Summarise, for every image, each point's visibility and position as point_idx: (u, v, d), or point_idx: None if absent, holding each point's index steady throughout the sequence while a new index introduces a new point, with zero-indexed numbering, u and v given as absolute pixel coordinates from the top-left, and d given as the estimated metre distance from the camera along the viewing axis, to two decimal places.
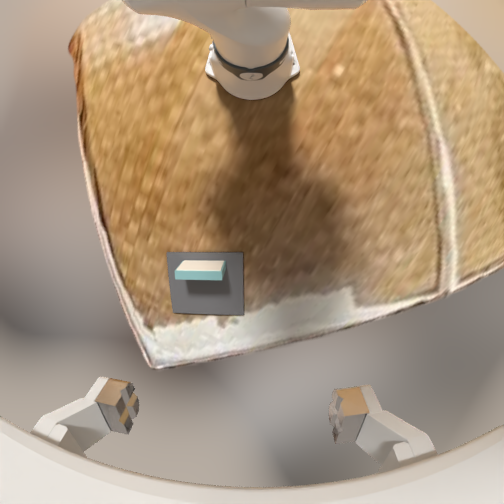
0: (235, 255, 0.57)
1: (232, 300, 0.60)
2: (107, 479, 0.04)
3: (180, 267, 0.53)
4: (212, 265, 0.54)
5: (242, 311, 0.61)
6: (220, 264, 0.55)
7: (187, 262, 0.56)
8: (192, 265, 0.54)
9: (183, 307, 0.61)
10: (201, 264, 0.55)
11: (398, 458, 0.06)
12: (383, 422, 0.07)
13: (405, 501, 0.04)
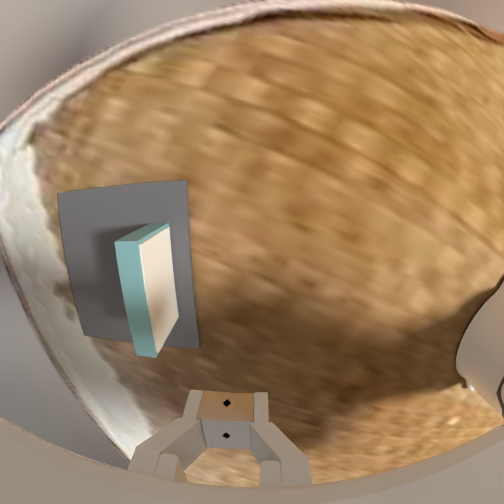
0: (192, 336, 0.26)
1: (103, 320, 0.26)
2: (107, 479, 0.04)
3: (149, 246, 0.19)
4: (165, 316, 0.22)
5: (89, 334, 0.27)
6: (170, 326, 0.23)
7: (164, 244, 0.22)
8: (158, 269, 0.20)
9: (69, 219, 0.23)
10: (164, 287, 0.22)
11: (261, 477, 0.06)
12: (262, 434, 0.07)
13: (405, 501, 0.04)
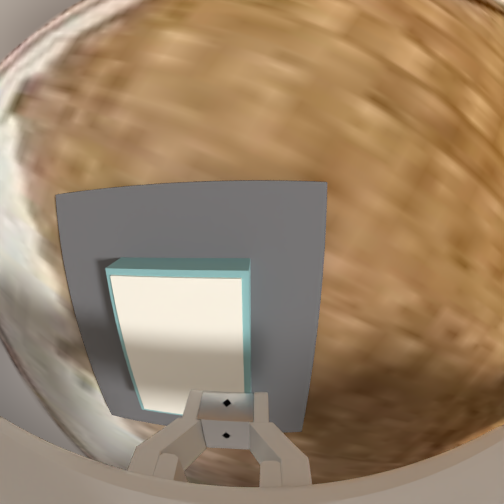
0: (296, 419, 0.16)
1: None
2: (107, 479, 0.04)
3: (136, 286, 0.12)
4: (181, 393, 0.13)
5: (120, 414, 0.17)
6: None
7: (207, 303, 0.12)
8: (169, 330, 0.12)
9: (79, 243, 0.13)
10: (187, 361, 0.13)
11: (261, 477, 0.06)
12: (262, 434, 0.07)
13: (405, 501, 0.04)
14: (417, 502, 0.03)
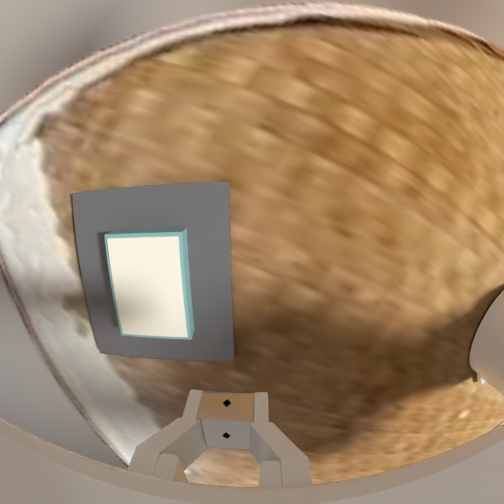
0: (228, 349, 0.25)
1: (124, 336, 0.24)
2: (107, 479, 0.04)
3: (121, 244, 0.20)
4: (146, 316, 0.22)
5: (106, 351, 0.25)
6: (157, 331, 0.22)
7: (160, 251, 0.20)
8: (139, 270, 0.21)
9: (87, 223, 0.21)
10: (149, 291, 0.21)
11: (261, 477, 0.06)
12: (262, 434, 0.07)
13: (405, 501, 0.04)
14: (417, 502, 0.03)
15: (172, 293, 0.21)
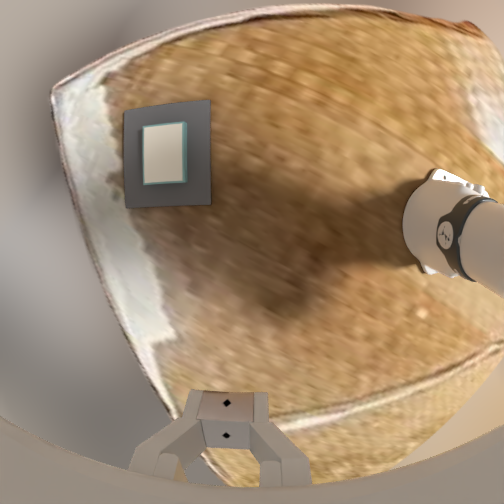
0: (207, 195, 0.41)
1: (144, 192, 0.41)
2: (108, 479, 0.04)
3: (151, 129, 0.37)
4: (160, 169, 0.38)
5: (130, 206, 0.42)
6: (165, 178, 0.39)
7: (172, 131, 0.37)
8: (160, 142, 0.37)
9: (131, 125, 0.38)
10: (164, 153, 0.38)
11: (261, 477, 0.06)
12: (262, 434, 0.07)
13: (405, 501, 0.04)
14: (417, 502, 0.03)
15: (176, 153, 0.38)
